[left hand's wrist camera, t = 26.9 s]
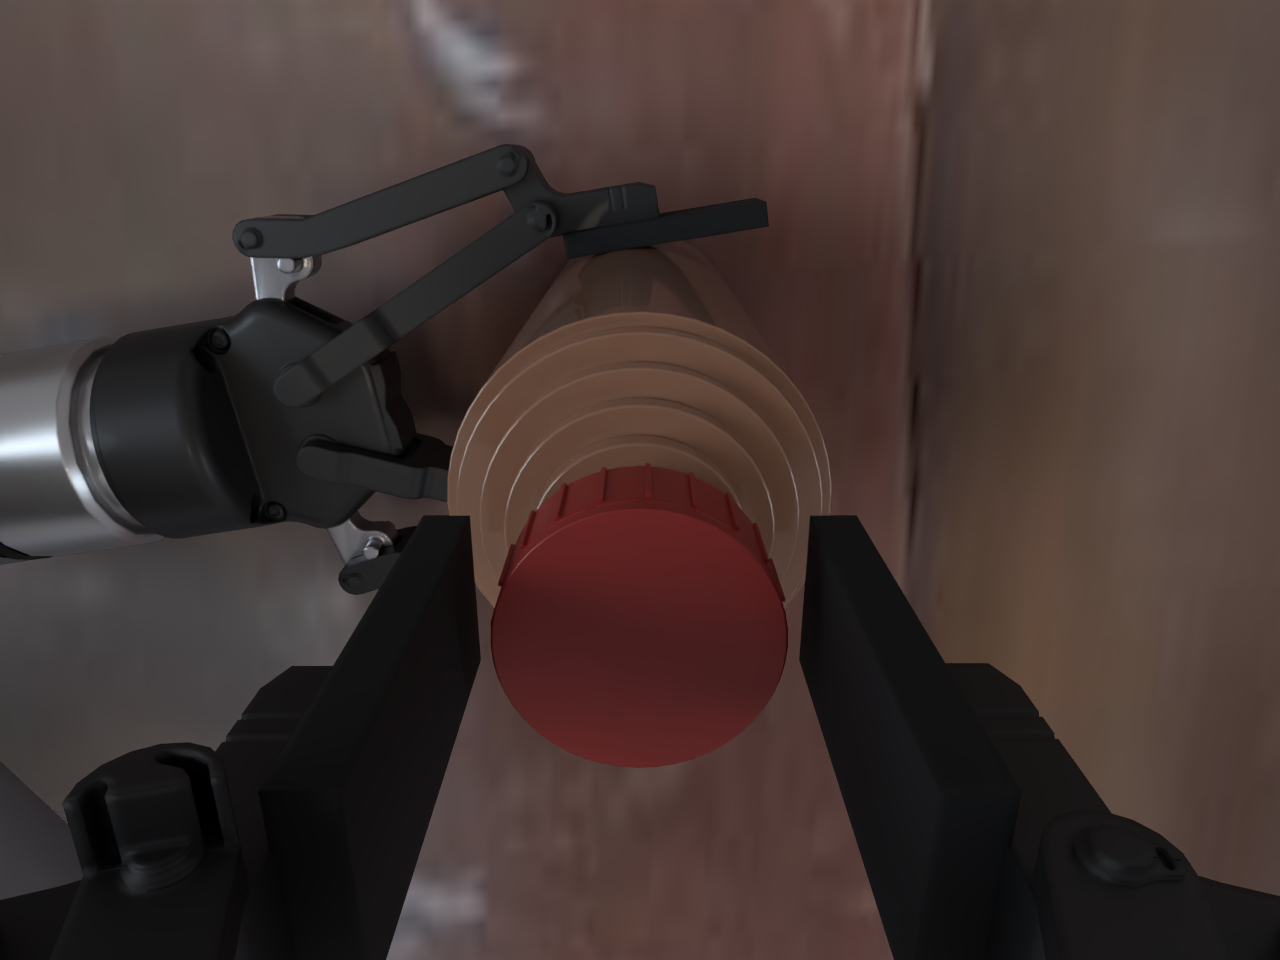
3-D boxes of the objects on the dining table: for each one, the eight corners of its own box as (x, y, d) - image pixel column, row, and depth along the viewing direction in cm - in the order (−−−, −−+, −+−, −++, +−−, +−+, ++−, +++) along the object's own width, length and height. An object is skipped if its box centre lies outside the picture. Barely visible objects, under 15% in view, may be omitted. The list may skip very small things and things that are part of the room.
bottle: (660, 188, 34) (702, 252, 12) (772, 348, 37) (989, 666, 14) (505, 308, 36) (273, 572, 13) (620, 455, 38) (592, 896, 16)
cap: (588, 411, 14) (581, 449, 12) (825, 544, 14) (851, 598, 13) (460, 628, 15) (436, 692, 13) (683, 739, 16) (688, 813, 14)
